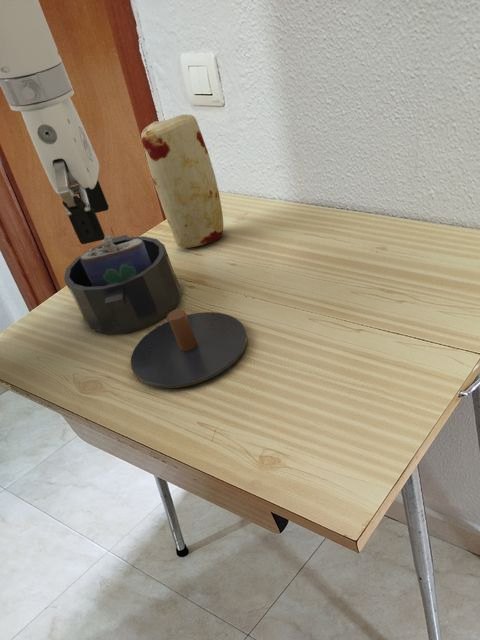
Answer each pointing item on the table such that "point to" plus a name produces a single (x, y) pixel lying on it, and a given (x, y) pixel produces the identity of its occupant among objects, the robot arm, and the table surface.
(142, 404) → the table surface
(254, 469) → the table surface
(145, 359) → the pan lid
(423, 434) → the table surface
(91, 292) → the pan
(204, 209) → the food model
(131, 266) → the flask
